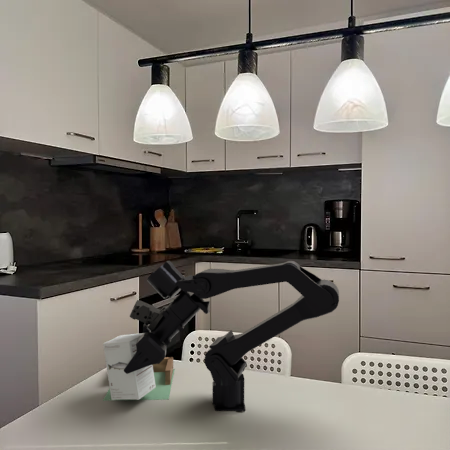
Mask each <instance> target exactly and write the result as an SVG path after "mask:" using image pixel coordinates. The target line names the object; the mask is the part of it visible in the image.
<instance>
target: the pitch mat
mask: <svg viewBox="0 0 450 450" xmlns="http://www.w3.org/2000/svg"><path fill="white" fill-rule="evenodd" d="M175 370H176V368H173V374H172V379H171V384H170V385H165V372H154V378H155V385H156V387H155V388H154V389H153V390H152V391H150V392H149V393H147V394H146V395H145V396H143V397H142V398H140V399H139V400H138V401H159V400H161V401H164V400H165V401H166V400H169V399H170V394H171V390H172V389H171V388H172V384H173V381H174V380H173V379H174V375H175ZM102 401H108V402H109V401H113V400H112V399H111V393H110V387H109V389H107V392H106V393H105V396H104V398H103V400H102ZM120 401H136V400H135V399H121V400H120Z"/></svg>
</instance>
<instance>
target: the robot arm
mask: <svg viewBox="0 0 450 450" xmlns="http://www.w3.org/2000/svg"><path fill="white" fill-rule="evenodd" d="M146 281H147V283H148V284H149V285H150V286H151V287H152V288H153V289H154V290H155V291H156V292H157V293H158V295H160V297H162V298H163V299H167V298H169V299H170V300H172V299H173V298H174V297H175V296H176V295H177V296H176V297H175V298H174V299H173V300H172V301H171V302H170V303H169V305H164V306H163V307H162V308H161V309H160V308H158V307H156V306H154V305H151V304H149V303H147V302H145V301H142V300H141V299H138V300H136V301H135V303H134V305H133V308H132V309H131V312H130V314H129V317H130V319H132V320H137V321H139V322H141V323H144V324H143V327H142V333H144V334H143V335H142V336H141V337H140V338H139V339H138V340H137V343H136V350H137V351H136V353H135V354H134V356H133V357H132V359H131V360H130V361H129V363H128V364H127V366H126V367H125V369H124V372H125V373H126V374H129V373H131V372H134V371H136V370H139V369H141V368H144V367H147V366H150V365H153V364H159V363H160V362H161V361H162V360H163V359H164V358H165V357H166V355H167V346H169V345H170V343H171V342H172V339H173V338H174V337H175V336H176V335H177V334H178V333H179V332H180V333H181V332H182V331H183V330H184V328H185V326H186V325H187V324H188V322H190V321H191V320H192V318H193V317H194V316H196V314H198V312H200V311H202V312H203V313H204V315H207V314H209V313H210V312H211V307H210V305H211V301H210V300H207V299H210V298H212V297H215V296H218V295H221V294H224V293H226V292H227V293H228V292H229V291H232V290H237V289H243V288H250V287H256V286H257V287H258V286H264V285H271V284H272V285H273V284H279V283H285V282H286V283H288V284H289V285H290V286H291V287H292V288H293V289H295V290H296V291H297V293H299V294H300V296H299V298H297V299H296V300H295V301H294V302H293V303H291V304H290V305H287V306H286V307H284V308H283V309H281V310H279V311H277V312H276V313H274V314H272V315H270V316H269V317H267V318H266V319H264V320H262V321H261V322H259V323H257V324H255V325H254V326H252V327H251V328H249V329H247V330H245V331H244V332H241V333H238V334H234V333H233V329H230V330H229V331H228V332H227V333H226V334H224V335H223V336H218V337H217V338H216V339H215V340H214V341H213V342H212V343H211V344H210V345H209V346H208V347H209V349H208V350H207V351H206V352H205V354H204V360H203V361H204V364H205V366H206V367H205V368H206V369H207V370H208V371H209V373H210V375H211V378H212V383H211V384H212V389H211V390H212V394H211V395H212V399H211V400H212V401H211V402H212V405H213V406H214V411H215V412H245V411H246V404H245V375H244V373H243V372H245V370H246V367H247V361H246V360H245V359H244V356H245V355H246V354H248V353H249V352H250V351H252V350H254V349H256V348H257V347H259V346H261V345H262V344H264V343H266V342H269V341H270V340H271V339H273V338H275V337H277V336H278V335H280V334H282V333H284V332H285V331H287V330H288V329H291V328H292V327H295V326H296V325H298V324H299V323H302V322H303V321H306V320H312V319H315V318H318V317H322V316H325V315H327V314H330V313H333V312H334V311H335V310H336V309H337V308H338V306H339V304H340V303H339V302H340V291H339V288H338V286H337V284H335V282H332V281H331V280H328V279H321V278H320V277H318V276H317V275H315V274H314V273H312V272H311V271H309V270H308V269H306V268H305V267H303V266H301V265H300V264H299V263H297V262H296V261H294V260H288V261H285V262H282V263H274V264H268V265H262V266H254V267H248V268H242V269H241V268H239V269H235V270H234V269H225V268H207V269H204V270H202V271H200V272H198V273H196V274H194V275H192V274H190V275H187V276H184V275H183V273H181V272H180V271H179V269H178V268H176V266H175V264H174V263H173V262H172V261H171V260H167V261H165V262H164V263H163V264H162V265H161V266H160V267H158V268H157V269H156V270H154V271H153V272H151V274H150V275H149V276H148V277H147V279H146ZM179 292H180V293H179ZM206 300H207V301H206Z"/></svg>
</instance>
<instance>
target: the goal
mask: <svg viewBox="0 0 450 450" xmlns="http://www.w3.org/2000/svg"><path fill="white" fill-rule="evenodd" d="M173 369H174V357H173V356H167V357H166V356H165V358H164V359H163V360H162V361H161V362H160V363H159V364H153V372H165V385H170V384H171V379H172V374H173Z"/></svg>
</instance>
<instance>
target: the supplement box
mask: <svg viewBox="0 0 450 450" xmlns="http://www.w3.org/2000/svg"><path fill="white" fill-rule="evenodd" d="M143 334H144V333H143V332H142V333H132V334H131V333H130V334H120V335H118V336H115V337H114V338H112V339H109V340H107V341H105V342H103V343H102V346H103V347H102V348H103V352H104V359H105V366H106V373H107V379H108V386H109V388H110V393H111V399H112V400H111V401H122V400H121V399H135V400H134V401H140V400H139V399H140V398H142V397H143V396H145V395H146V394H147V393H149V392H150V391H152V390H153V389H154V388H155V387H156V385H155V378H154V372H153V365H150V366H147V367H144V368H141V369H139V370H136V371H134V372H131V373H129V374H126V373H125V372H124V369H125V367H126V366H127V364H128V363H129V361H130V360H131V359H132V357H133V356H134V354H135V353H136V351H137V350H136V343H137V340H138V339H139V338H140V337H141V336H142V335H143Z"/></svg>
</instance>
